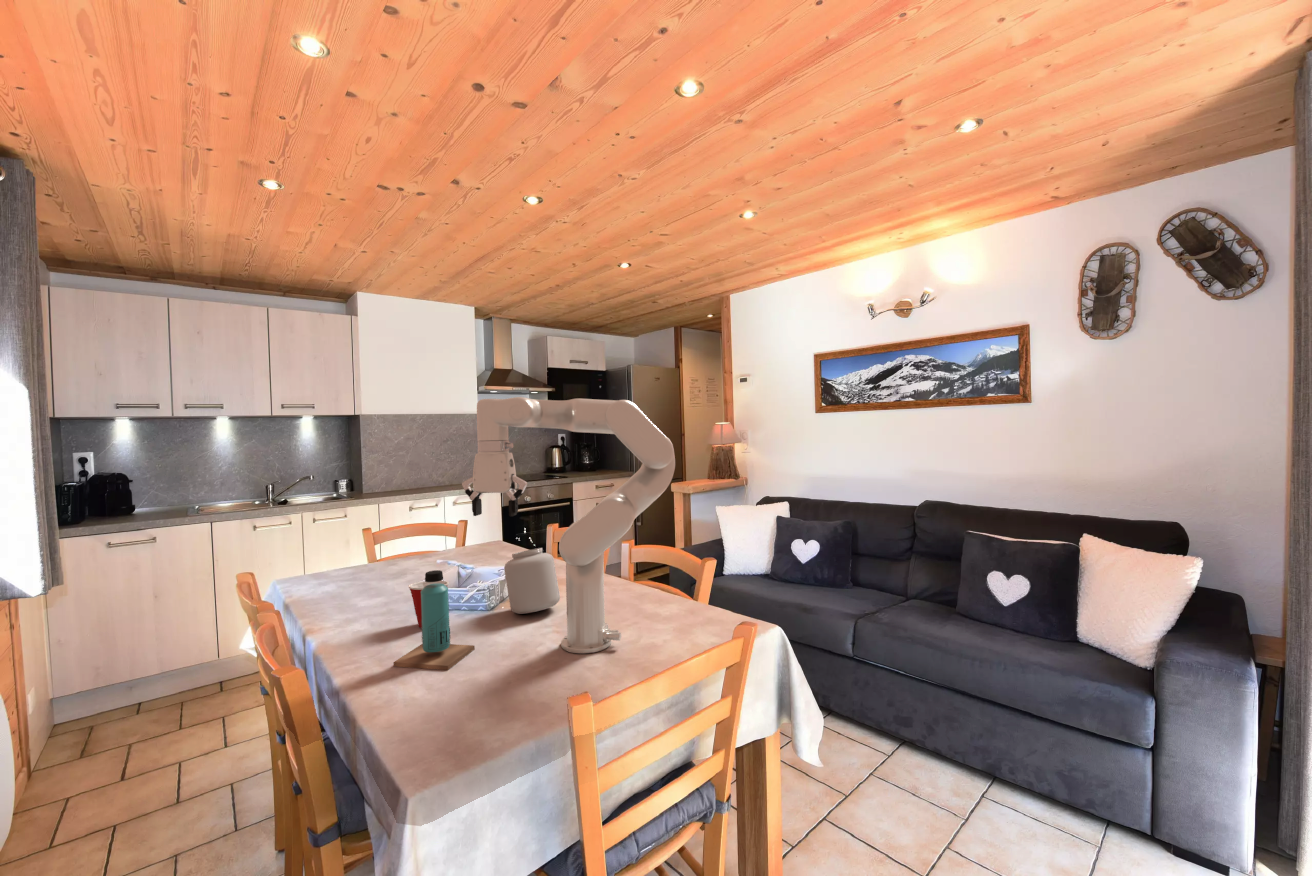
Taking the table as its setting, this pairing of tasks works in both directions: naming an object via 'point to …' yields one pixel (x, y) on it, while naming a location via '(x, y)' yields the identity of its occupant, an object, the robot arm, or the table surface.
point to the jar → (531, 581)
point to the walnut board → (434, 657)
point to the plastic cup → (416, 596)
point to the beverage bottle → (435, 614)
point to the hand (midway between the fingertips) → (495, 515)
